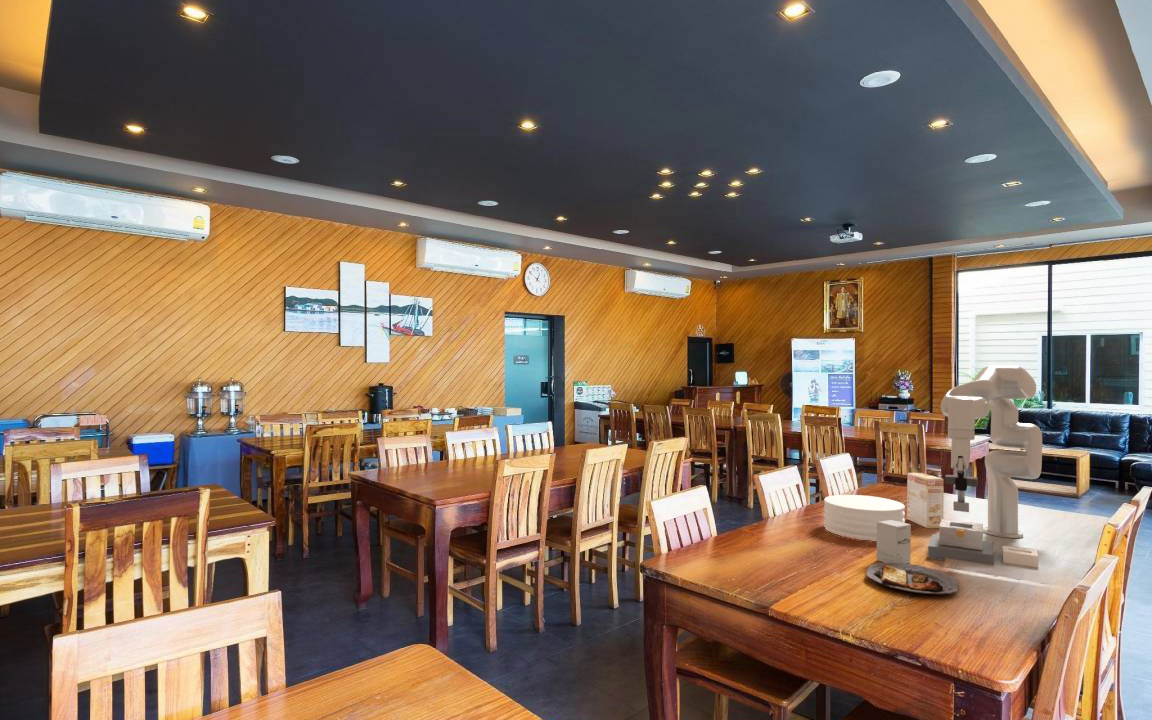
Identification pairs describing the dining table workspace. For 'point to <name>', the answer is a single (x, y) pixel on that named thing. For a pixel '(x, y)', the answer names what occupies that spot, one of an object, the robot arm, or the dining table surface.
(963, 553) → the grey flat slab
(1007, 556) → the key stand
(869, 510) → the plate stack
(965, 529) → the chuck
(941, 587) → the food plate
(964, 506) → the block
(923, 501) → the coffeecake box
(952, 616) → the dining table surface
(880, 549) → the supplement box
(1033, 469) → the robot arm
